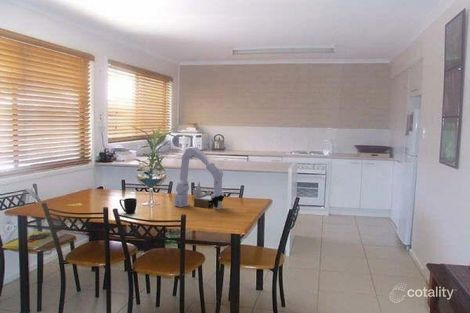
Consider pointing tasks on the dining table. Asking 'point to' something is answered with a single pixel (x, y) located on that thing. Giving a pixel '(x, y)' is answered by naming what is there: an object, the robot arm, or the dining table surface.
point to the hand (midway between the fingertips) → (217, 206)
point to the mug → (129, 205)
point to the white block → (218, 205)
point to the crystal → (199, 191)
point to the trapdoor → (204, 197)
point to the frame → (202, 203)
